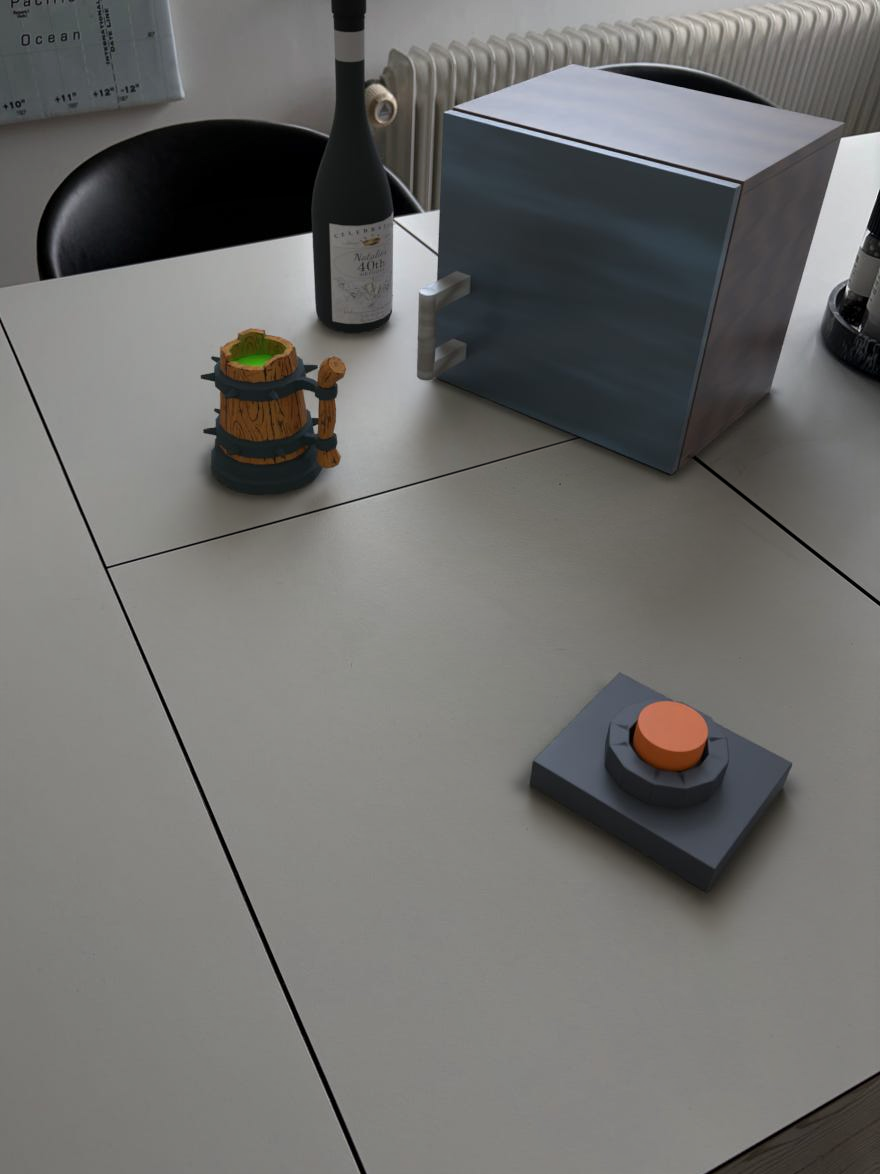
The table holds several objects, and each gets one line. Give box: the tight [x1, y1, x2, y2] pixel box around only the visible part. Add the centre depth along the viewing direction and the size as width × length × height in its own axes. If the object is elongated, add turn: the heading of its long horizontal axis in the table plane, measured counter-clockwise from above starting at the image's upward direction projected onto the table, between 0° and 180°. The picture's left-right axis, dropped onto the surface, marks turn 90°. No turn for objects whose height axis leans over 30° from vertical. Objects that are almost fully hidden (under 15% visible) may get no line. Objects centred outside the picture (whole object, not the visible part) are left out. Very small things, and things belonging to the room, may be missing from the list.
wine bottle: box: [310, 0, 394, 334], centre depth 99 cm, size 8×8×30 cm
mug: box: [200, 327, 347, 496], centre depth 85 cm, size 13×10×12 cm
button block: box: [529, 672, 793, 893], centre depth 62 cm, size 12×10×4 cm
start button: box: [633, 701, 708, 772], centre depth 61 cm, size 4×4×2 cm
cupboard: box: [451, 63, 846, 471], centre depth 92 cm, size 18×26×24 cm
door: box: [416, 109, 742, 475], centre depth 85 cm, size 7×26×24 cm, turn 50°
